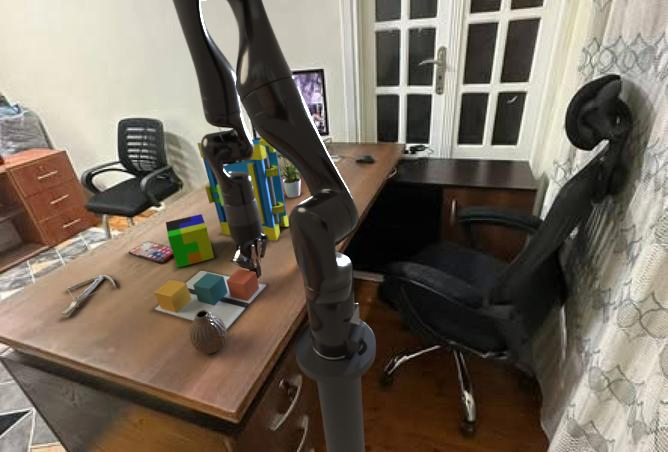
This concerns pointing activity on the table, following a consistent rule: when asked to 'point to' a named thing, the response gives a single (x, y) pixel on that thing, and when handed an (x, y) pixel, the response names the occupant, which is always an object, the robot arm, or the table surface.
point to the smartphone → (152, 252)
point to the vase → (207, 332)
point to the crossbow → (85, 293)
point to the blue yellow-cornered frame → (255, 189)
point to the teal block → (210, 288)
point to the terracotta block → (243, 284)
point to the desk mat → (224, 308)
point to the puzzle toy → (189, 240)
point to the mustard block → (173, 296)
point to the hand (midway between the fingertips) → (256, 276)
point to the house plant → (290, 180)
